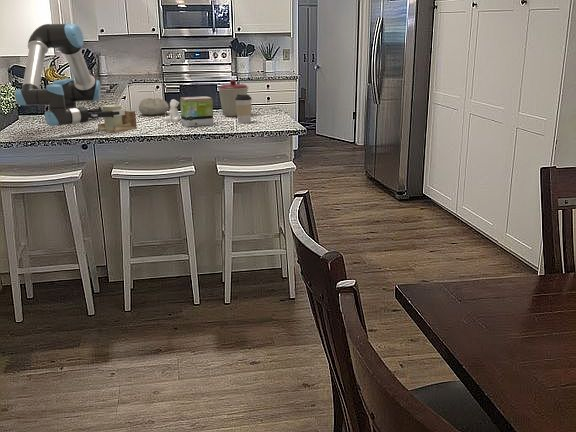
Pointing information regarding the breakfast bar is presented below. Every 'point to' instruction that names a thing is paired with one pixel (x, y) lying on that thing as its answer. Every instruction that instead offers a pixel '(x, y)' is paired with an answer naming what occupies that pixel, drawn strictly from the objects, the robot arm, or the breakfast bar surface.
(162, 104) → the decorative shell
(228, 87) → the canister
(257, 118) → the breakfast bar surface
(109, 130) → the cradle
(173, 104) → the white creature statuette
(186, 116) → the tea box
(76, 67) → the robot arm
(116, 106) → the can
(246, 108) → the coffee cup
